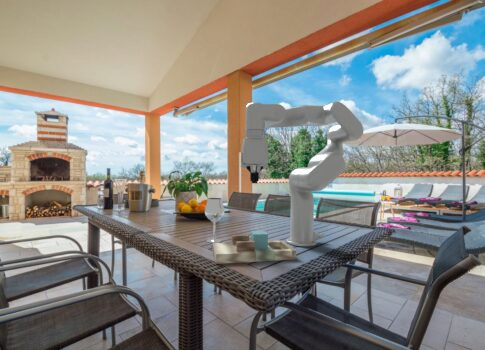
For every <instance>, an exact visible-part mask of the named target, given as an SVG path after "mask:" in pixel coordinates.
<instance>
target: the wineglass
mask: <svg viewBox="0 0 485 350" xmlns="http://www.w3.org/2000/svg"><path fill="white" fill-rule="evenodd" d="M204 215H205V217H206V218H207V219H208V220H210V222H211V223H212V225H213V226H212V227H213V229H212V230H213V232H212V234H213V235H212V238H209V239H206V242H207V243H209V244H212V243H222V239H220V238H216V224H217V222H219V221H220V220H221V219H222V218H223V217H224V215H225V207H224V202H223V199H222V197H221V198H220V197H209V198H207V201H206V204H205V208H204Z"/></svg>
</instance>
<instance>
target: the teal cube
mask: <svg viewBox="0 0 485 350" xmlns="http://www.w3.org/2000/svg"><path fill="white" fill-rule="evenodd" d="M250 235H251V238H250V239H251V240H250V241H255V249H268V241H269V234H268V233H267V232H266V230H251V232H250Z"/></svg>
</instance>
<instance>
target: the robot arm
mask: <svg viewBox="0 0 485 350" xmlns="http://www.w3.org/2000/svg"><path fill="white" fill-rule="evenodd" d="M336 123H337V124H336ZM332 124H335V125H332ZM329 125H332V126H331V127H330V128H329V129H328V130H327V134H326V138H327V139H326V142H327V143H326V145H325V147H324V148H323V149H321V150H320V151H319V152H318V153H317V154H315V155H314V156H313V157H312V158H311V159H310V160H309V162H308V163H307V167H298V168H297V167H296V168H295V169H293V170H292V171H291V172H290V173H289V177H288V186H289V191H290V213H289V214H290V219H289V220H290V223H289V224H290V225H289V229H290V230H289V236H288V237H287V238H286V241H285V243H287V244H288V245H290V246H291V245H292V246H295V247H314V246H317V244H318V239H324V238H325V234H324V233H318V232H315V231H314V224H315V223H314V220H315V219H314V216H315V213H314V212H315V210H314V209H315V208H314V207H315V200H314V199H315V198H314V194H313V193H312V192H321V191H323V190H324V189H326V188H327V187H328V186H330V184H332V183H333V182H334V181H335V180H336V179H338V177H340V175H342V173H343V172H344V170H345V166H346V162H345V158H344V147H343V146H344V145H343V143H347V142H353V141H358V140H360V139H361V137H362V136H363V134H364V131H365V129H364V126H363V124H362V122H361V121H360V120H359V118H358V117H356V115H355V114H354V113H353V112H352V111H351V109H350V108H349V107H347V106H346V105H345V104H344V103H343V102H340V101H334V102H333V101H332V102H331V103H328V104H327V103H326V104H325V105H308V104H302V105H297V106H294V107H289V108H286V107H284V105H282V104H280V103H262V102H250V103H247V105H246V106H245V137H244V138H243V139H242V144H241V152H240V153H241V155H240V168H243V169H246V170H248V171H247V172H249V173H250V174H249V175H250V177H249V181H250V183H251V184H258V182H259V180H260V179H259V178H260V177H259V175H260V172H261V171H263V169H264V170H265V169H268V168H269V164H268V163H269V149H268V147H269V146H268V142H267V141H268V140H267V139H266V138H268V137H269V133H266V128H268V129H271V128H272V129H273V128H274V129H275V128H277V129H278V128H291V127H292V128H294V127H295V128H296V127H304V126H305V127H308V126H309V127H311V126H313V127H319V126H320V127H323V126H329ZM254 166H255V169H254Z"/></svg>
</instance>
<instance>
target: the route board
mask: <svg viewBox="0 0 485 350" xmlns="http://www.w3.org/2000/svg"><path fill="white" fill-rule="evenodd" d="M211 244H212V245H211V246H212V249H211V251H212V256H213V258H214V262H215V264H216V265H221V264H222V265H223V264H238V263H239V264H240V263H254V262H255V263H256V262H271V261H275V262H277V261H289V260H297V250H296V249H295V248H293V247H292V246H291V245H290V244H289V243H287V242H286V241H284V240H280V239H278V240H268V249H255V241H251V240H250V235H249V234H233V235H231V242H219V243H211Z"/></svg>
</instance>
